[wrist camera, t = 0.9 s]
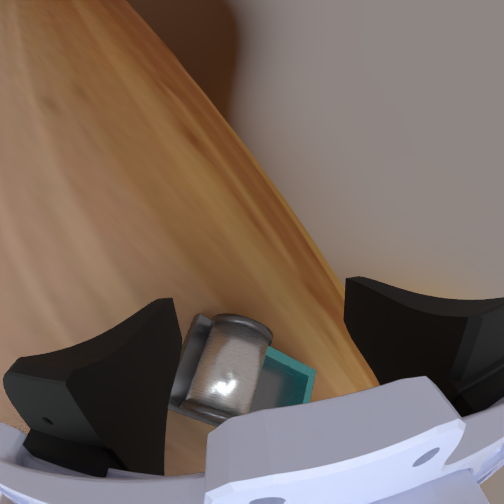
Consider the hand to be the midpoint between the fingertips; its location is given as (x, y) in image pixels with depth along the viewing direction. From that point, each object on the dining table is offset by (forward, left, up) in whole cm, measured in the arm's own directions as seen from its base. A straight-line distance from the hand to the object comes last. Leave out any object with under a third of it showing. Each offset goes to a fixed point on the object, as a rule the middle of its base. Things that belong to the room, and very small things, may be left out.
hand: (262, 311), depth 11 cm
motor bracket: (0, -10, -14) cm, 17 cm away
